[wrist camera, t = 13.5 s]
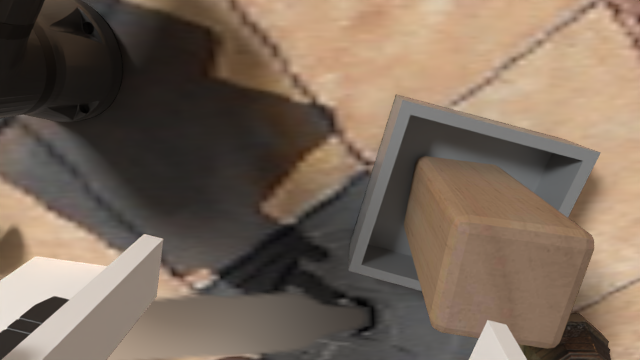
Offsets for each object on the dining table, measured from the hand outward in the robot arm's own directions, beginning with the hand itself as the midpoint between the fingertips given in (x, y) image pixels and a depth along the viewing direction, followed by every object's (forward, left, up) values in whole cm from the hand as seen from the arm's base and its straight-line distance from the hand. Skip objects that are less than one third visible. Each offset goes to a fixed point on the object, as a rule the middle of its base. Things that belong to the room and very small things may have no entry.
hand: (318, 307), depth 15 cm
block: (+14, -3, -33) cm, 36 cm away
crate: (+15, -3, -34) cm, 37 cm away
